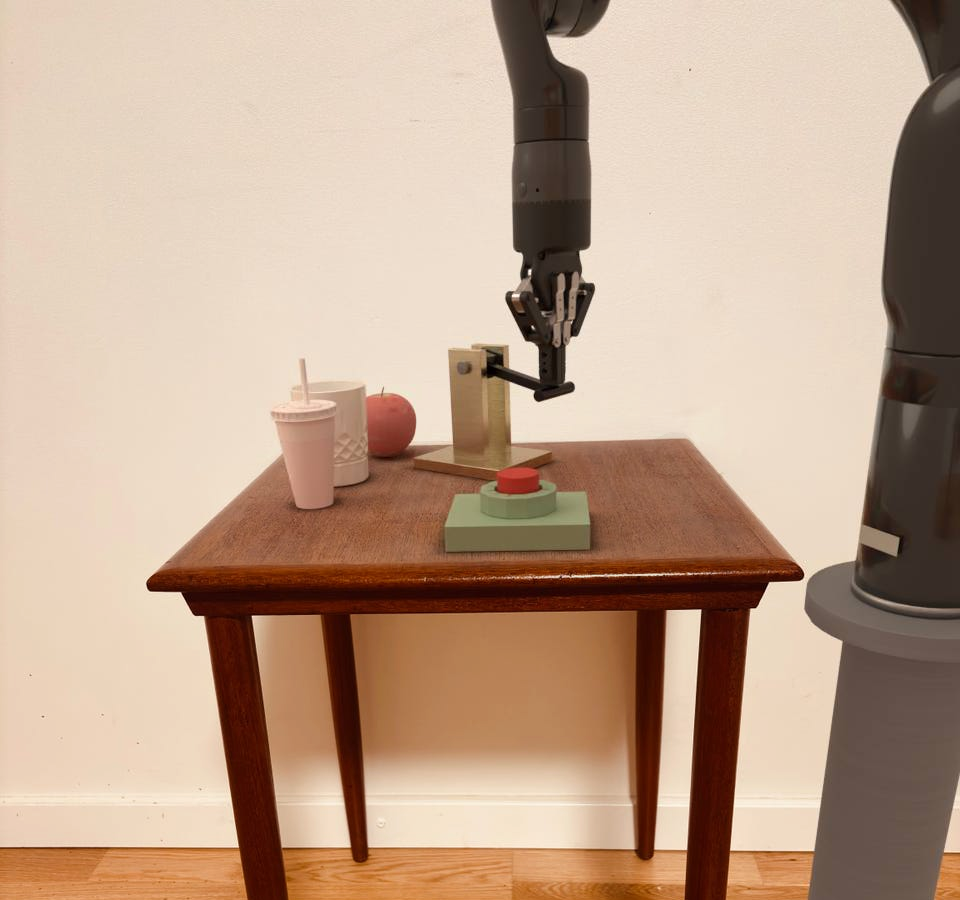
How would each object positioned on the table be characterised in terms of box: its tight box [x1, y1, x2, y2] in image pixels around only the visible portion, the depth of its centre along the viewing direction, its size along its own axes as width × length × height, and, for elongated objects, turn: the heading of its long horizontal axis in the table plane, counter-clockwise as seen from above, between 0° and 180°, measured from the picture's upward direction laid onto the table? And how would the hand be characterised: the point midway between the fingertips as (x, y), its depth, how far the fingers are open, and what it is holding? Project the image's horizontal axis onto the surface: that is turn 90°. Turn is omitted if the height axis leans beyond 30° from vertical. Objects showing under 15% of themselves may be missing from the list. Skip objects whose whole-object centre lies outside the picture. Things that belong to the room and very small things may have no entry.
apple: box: [366, 386, 417, 458], centre depth 108 cm, size 7×7×8 cm
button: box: [497, 468, 540, 495], centre depth 79 cm, size 4×4×2 cm
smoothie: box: [269, 357, 338, 510], centre depth 89 cm, size 6×6×14 cm
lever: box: [486, 352, 576, 403], centre depth 97 cm, size 12×6×2 cm, turn 52°
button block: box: [443, 479, 591, 553], centre depth 80 cm, size 12×10×4 cm
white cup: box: [289, 379, 370, 488], centre depth 98 cm, size 8×8×10 cm
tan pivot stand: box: [412, 342, 553, 482], centre depth 101 cm, size 12×10×13 cm
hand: (552, 384), depth 95 cm, fingers closed
